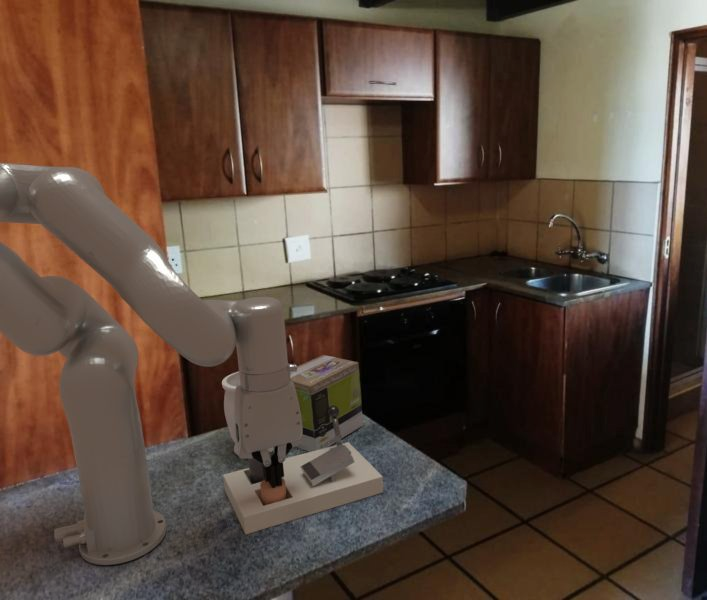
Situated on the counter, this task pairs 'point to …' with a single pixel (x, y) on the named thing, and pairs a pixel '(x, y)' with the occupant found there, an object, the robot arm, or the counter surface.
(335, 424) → the toggle lever
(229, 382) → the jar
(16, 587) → the counter surface
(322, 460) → the rocker
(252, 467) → the black button
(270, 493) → the terracotta button
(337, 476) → the panel
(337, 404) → the tea box
